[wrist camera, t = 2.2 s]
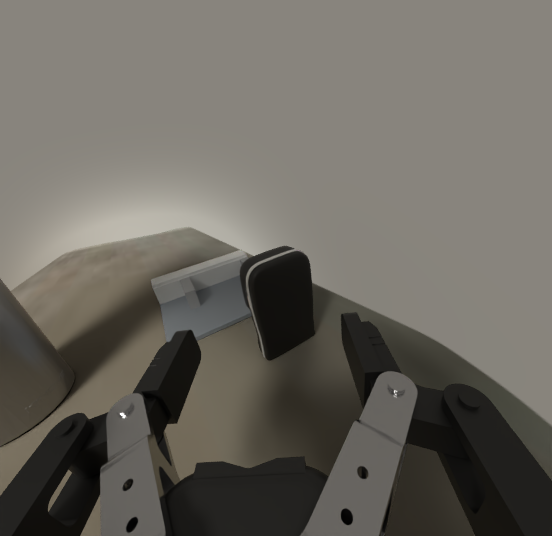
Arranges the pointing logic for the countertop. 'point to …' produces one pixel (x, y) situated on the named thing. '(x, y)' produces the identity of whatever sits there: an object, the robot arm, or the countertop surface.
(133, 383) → the countertop surface
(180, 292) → the bracket
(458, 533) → the countertop surface
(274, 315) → the black rounded block
